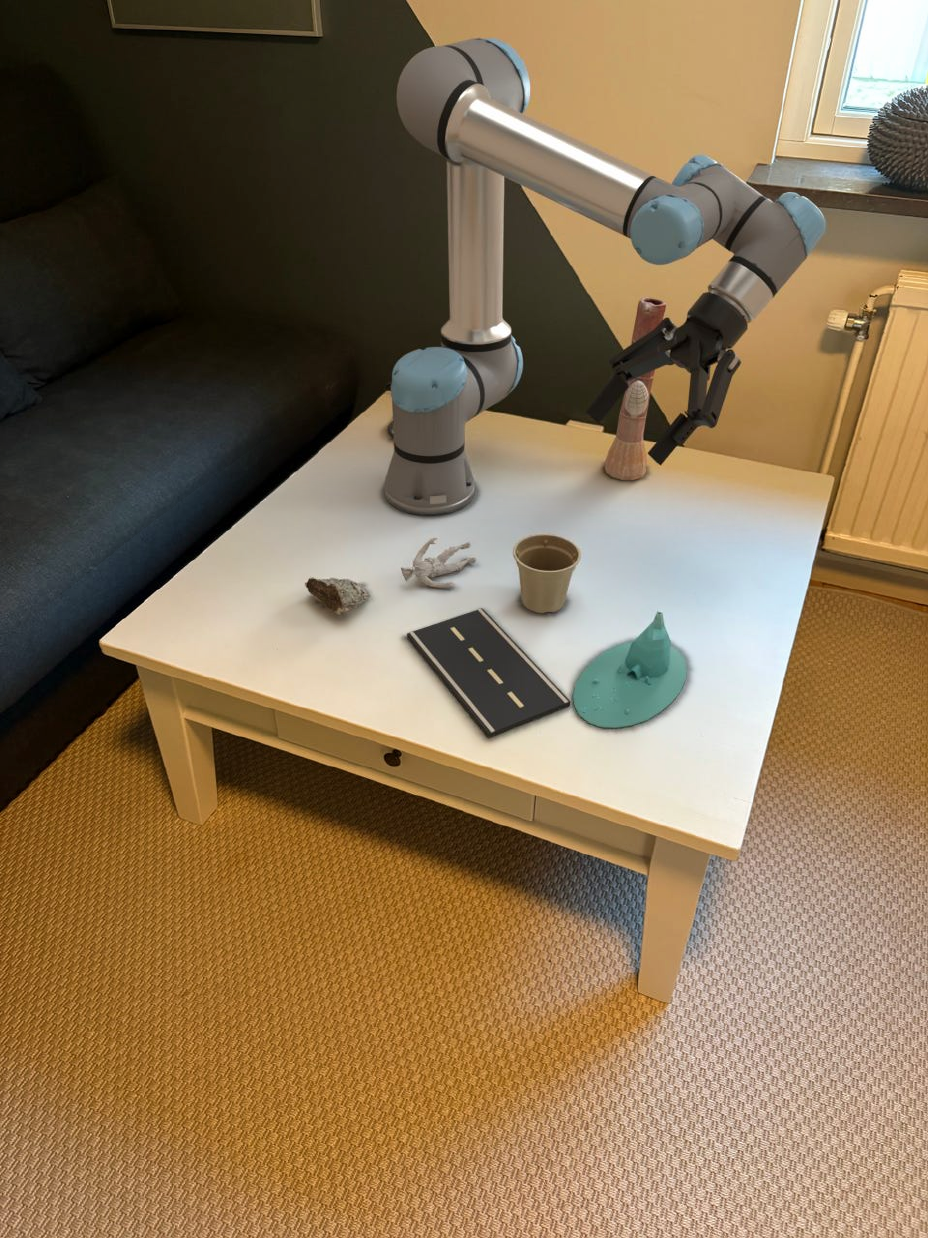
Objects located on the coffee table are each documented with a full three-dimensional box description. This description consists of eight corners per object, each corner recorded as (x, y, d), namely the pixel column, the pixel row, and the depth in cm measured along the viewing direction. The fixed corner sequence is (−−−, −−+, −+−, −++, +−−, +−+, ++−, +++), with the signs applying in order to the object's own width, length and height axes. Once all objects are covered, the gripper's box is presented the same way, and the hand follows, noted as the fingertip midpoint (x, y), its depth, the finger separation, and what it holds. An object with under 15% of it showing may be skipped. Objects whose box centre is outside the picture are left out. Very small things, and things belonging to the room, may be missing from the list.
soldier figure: (484, 578, 143) (431, 590, 134) (462, 589, 146) (408, 601, 137) (466, 530, 144) (412, 539, 135) (445, 542, 147) (390, 551, 138)
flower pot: (571, 625, 133) (577, 575, 128) (505, 616, 134) (507, 566, 129) (578, 587, 140) (584, 538, 135) (515, 579, 142) (518, 530, 136)
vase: (633, 486, 164) (657, 314, 145) (595, 474, 167) (614, 305, 148) (658, 461, 171) (684, 295, 152) (621, 450, 174) (642, 286, 155)
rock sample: (393, 576, 135) (345, 554, 129) (378, 627, 133) (329, 607, 128) (350, 575, 142) (303, 554, 137) (335, 624, 141) (287, 604, 135)
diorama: (548, 701, 121) (553, 649, 115) (630, 627, 133) (638, 577, 128) (630, 746, 115) (640, 693, 109) (709, 663, 127) (720, 612, 122)
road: (406, 637, 130) (406, 632, 130) (482, 612, 135) (482, 607, 134) (488, 738, 115) (488, 733, 115) (570, 705, 120) (570, 700, 119)
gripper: (808, 357, 118) (695, 492, 121) (678, 295, 135) (582, 415, 138) (786, 322, 112) (668, 464, 116) (653, 263, 129) (554, 388, 133)
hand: (621, 438), depth 127 cm, fingers open, 13 cm apart
